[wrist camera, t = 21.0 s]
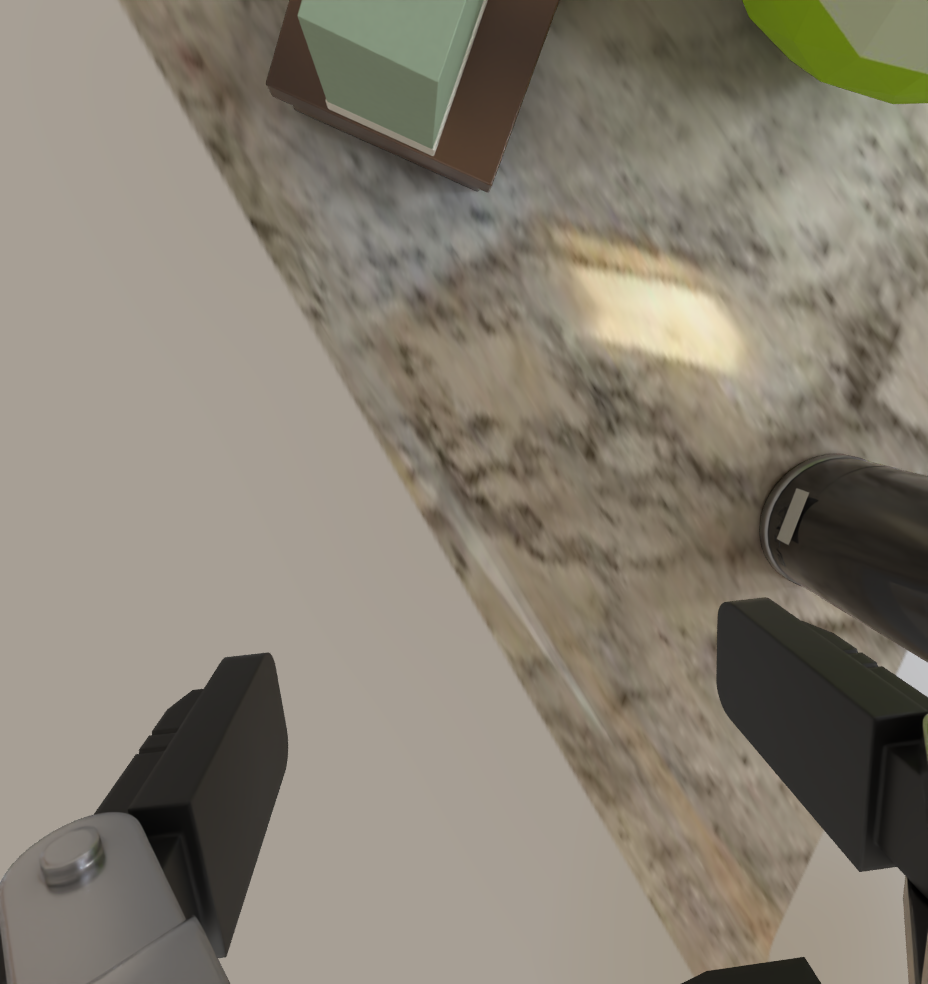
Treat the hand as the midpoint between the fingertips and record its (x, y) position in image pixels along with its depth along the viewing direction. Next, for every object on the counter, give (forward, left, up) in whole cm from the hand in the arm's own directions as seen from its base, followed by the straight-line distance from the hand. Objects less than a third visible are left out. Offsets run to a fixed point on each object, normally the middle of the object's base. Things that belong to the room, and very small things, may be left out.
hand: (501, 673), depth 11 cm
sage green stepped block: (-1, -22, -24) cm, 32 cm away
